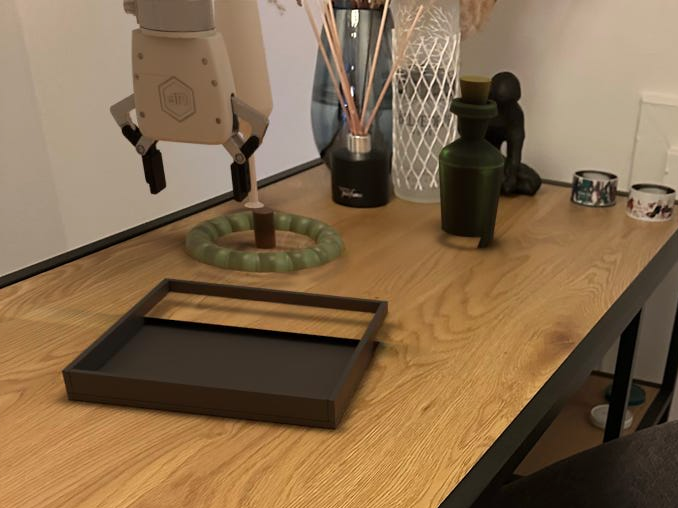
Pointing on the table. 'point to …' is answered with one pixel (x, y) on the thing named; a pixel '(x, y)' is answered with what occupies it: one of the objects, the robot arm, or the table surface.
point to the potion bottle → (471, 166)
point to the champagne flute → (246, 65)
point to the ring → (313, 256)
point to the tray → (226, 361)
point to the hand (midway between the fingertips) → (200, 194)
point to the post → (264, 228)
